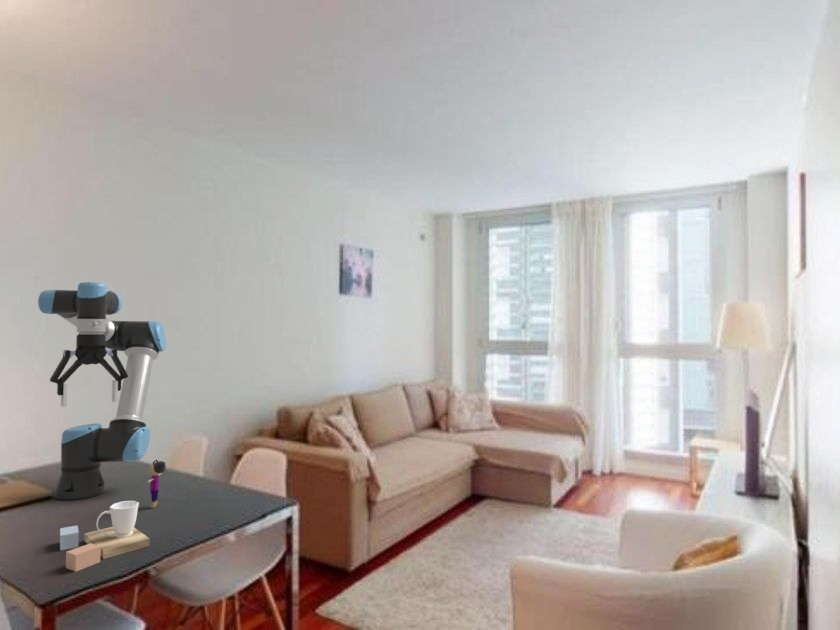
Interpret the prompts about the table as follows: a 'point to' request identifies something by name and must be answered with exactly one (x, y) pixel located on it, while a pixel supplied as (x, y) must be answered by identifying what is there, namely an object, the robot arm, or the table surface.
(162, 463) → the toy
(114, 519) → the cup
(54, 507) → the table surface
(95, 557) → the terracotta brick
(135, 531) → the oak board
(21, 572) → the table surface
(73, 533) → the slate brick
